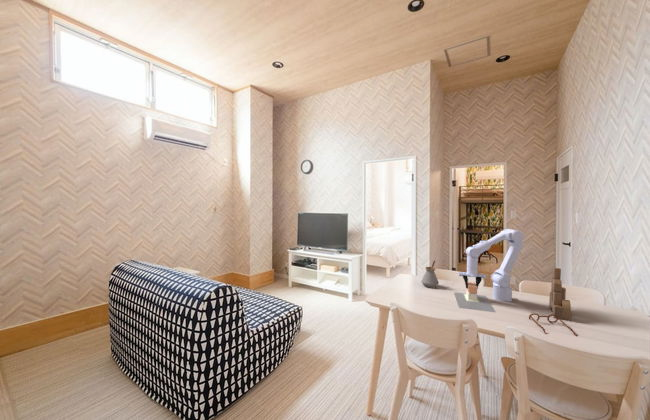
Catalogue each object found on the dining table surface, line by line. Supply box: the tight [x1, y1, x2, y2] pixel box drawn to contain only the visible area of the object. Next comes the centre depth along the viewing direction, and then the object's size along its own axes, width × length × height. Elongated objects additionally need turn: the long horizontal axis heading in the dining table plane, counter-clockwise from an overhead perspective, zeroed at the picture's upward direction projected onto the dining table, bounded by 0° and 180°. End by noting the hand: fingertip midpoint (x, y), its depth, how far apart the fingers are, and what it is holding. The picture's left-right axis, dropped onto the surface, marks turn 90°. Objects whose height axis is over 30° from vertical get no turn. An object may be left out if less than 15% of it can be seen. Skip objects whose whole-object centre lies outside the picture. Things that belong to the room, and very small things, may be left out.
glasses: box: [528, 312, 578, 337], centre depth 127 cm, size 13×13×5 cm
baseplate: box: [453, 292, 496, 313], centre depth 157 cm, size 18×24×1 cm
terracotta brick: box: [466, 281, 478, 294], centre depth 161 cm, size 4×8×4 cm, turn 160°
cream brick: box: [465, 288, 478, 301], centre depth 162 cm, size 4×8×4 cm, turn 159°
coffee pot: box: [421, 259, 440, 288], centre depth 190 cm, size 21×12×15 cm, turn 146°
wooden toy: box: [548, 267, 572, 321], centre depth 141 cm, size 16×7×25 cm, turn 148°
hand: (471, 288), depth 161 cm, fingers open, 5 cm apart
